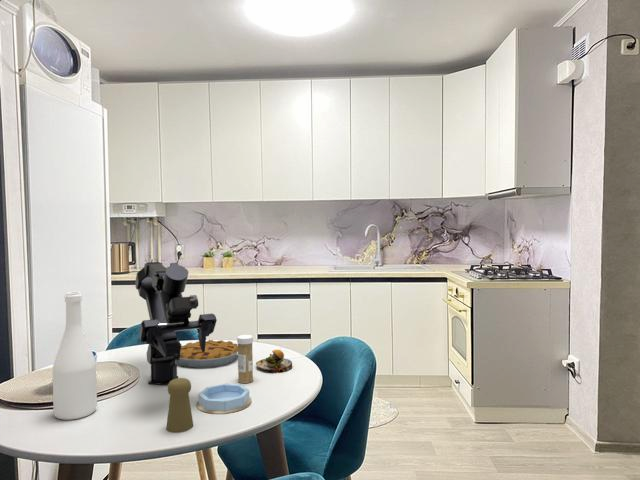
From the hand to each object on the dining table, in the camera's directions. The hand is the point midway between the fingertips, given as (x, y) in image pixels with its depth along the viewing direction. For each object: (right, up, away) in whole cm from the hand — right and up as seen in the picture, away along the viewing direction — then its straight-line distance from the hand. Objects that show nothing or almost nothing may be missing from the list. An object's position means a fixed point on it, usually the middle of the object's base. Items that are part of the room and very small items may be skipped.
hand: (185, 353), depth 116 cm
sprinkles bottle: (+11, -14, +23) cm, 29 cm away
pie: (-5, -13, +45) cm, 47 cm away
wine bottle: (-27, -15, 0) cm, 31 cm away
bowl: (+8, -14, +6) cm, 18 cm away
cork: (+1, -15, -8) cm, 17 cm away
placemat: (+8, -14, +6) cm, 18 cm away
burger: (+19, -14, +36) cm, 42 cm away
